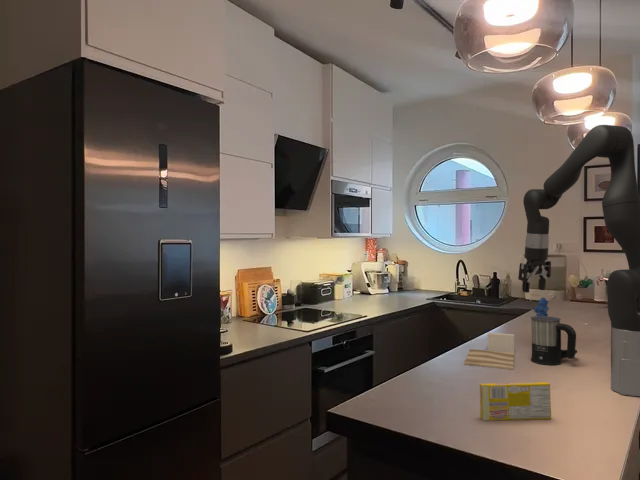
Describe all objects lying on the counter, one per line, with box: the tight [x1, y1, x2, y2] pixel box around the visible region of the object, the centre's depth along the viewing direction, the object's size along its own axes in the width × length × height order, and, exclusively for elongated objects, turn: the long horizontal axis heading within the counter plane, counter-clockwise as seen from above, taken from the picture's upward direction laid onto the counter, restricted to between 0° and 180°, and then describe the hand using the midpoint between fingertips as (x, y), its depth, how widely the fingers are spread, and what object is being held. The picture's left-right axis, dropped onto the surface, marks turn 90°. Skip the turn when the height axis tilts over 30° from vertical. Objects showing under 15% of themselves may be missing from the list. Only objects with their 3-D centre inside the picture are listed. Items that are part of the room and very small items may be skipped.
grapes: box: [533, 296, 549, 317], centre depth 228 cm, size 12×7×12 cm, turn 138°
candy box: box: [479, 381, 552, 421], centre depth 109 cm, size 16×2×8 cm, turn 92°
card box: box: [487, 332, 515, 354], centre depth 171 cm, size 3×9×6 cm, turn 67°
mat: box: [464, 348, 515, 370], centre depth 161 cm, size 20×15×1 cm
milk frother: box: [530, 315, 578, 366], centre depth 159 cm, size 14×16×15 cm
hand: (533, 290), depth 167 cm, fingers open, 8 cm apart
